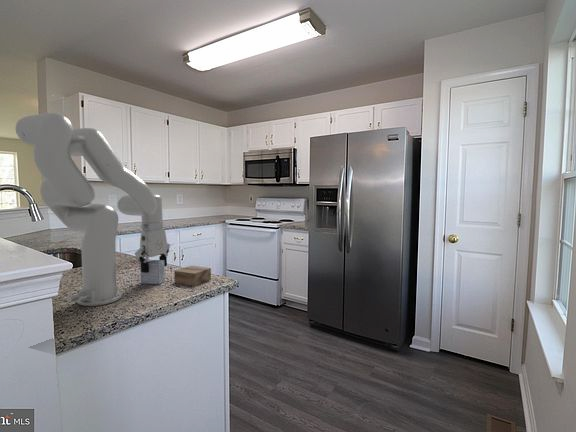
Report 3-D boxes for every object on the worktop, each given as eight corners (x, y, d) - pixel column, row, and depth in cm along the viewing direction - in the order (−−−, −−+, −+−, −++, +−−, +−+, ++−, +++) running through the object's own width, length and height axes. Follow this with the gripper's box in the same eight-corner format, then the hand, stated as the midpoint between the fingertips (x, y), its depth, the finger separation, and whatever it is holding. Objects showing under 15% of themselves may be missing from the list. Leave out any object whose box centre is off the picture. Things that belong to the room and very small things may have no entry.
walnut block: (194, 286, 119) (194, 273, 119) (174, 283, 123) (174, 270, 123) (210, 279, 128) (210, 268, 128) (191, 277, 132) (191, 265, 132)
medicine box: (165, 281, 124) (164, 260, 124) (159, 284, 120) (159, 262, 119) (146, 280, 125) (146, 259, 125) (140, 283, 121) (139, 261, 120)
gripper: (142, 230, 112) (145, 276, 114) (175, 224, 128) (177, 264, 130) (126, 228, 114) (129, 274, 116) (160, 223, 131) (162, 262, 132)
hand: (154, 269), depth 123 cm, fingers open, 9 cm apart
